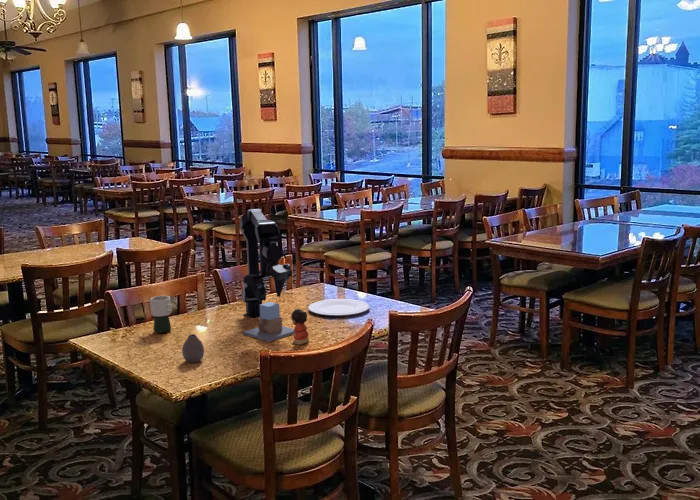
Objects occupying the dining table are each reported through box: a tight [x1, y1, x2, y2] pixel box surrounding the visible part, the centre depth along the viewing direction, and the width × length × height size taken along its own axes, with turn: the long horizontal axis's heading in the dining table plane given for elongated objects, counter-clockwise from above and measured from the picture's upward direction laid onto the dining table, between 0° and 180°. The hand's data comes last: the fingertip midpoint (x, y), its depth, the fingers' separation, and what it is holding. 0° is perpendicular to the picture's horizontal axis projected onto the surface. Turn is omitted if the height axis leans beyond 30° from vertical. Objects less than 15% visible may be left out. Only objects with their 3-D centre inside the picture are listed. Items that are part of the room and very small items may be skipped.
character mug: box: [149, 295, 173, 333], centre depth 262 cm, size 11×7×13 cm, turn 57°
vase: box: [181, 333, 205, 364], centre depth 230 cm, size 7×7×9 cm
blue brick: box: [259, 301, 281, 320], centre depth 257 cm, size 5×5×5 cm
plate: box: [308, 298, 370, 318], centre depth 288 cm, size 25×25×2 cm
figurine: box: [290, 308, 310, 345], centre depth 247 cm, size 6×6×12 cm
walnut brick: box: [257, 316, 283, 334], centre depth 258 cm, size 6×6×5 cm
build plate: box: [242, 325, 294, 343], centre depth 259 cm, size 14×14×1 cm
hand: (269, 299), depth 256 cm, fingers open, 9 cm apart
